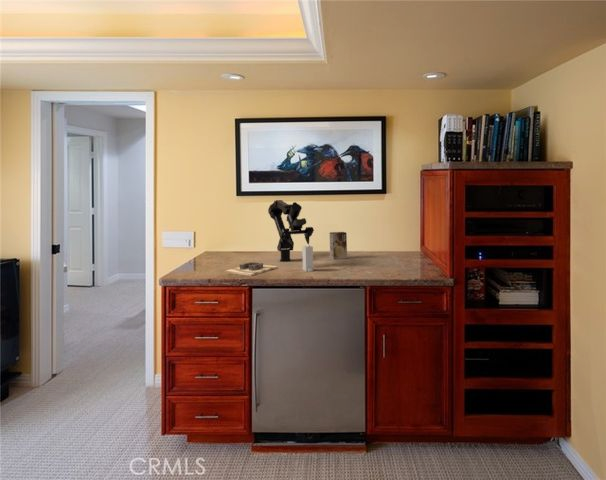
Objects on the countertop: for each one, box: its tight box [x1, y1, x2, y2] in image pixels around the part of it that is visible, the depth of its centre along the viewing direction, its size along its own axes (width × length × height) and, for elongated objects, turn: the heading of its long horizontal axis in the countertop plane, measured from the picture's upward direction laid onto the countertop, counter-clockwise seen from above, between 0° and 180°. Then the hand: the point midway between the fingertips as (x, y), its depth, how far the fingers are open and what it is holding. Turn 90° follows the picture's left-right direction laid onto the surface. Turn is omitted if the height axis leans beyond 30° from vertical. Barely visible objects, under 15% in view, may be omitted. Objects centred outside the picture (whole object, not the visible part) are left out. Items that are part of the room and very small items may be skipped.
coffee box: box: [329, 231, 348, 260], centre depth 293 cm, size 9×6×16 cm
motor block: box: [301, 244, 314, 273], centre depth 256 cm, size 6×4×14 cm
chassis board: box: [223, 261, 279, 277], centre depth 261 cm, size 24×18×4 cm
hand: (300, 244), depth 264 cm, fingers open, 9 cm apart
